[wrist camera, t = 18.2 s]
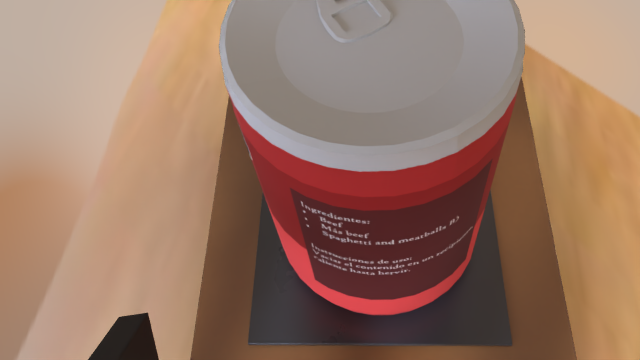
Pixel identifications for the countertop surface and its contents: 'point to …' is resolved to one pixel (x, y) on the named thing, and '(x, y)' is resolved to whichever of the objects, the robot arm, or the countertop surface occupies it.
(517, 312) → the wooden picture frame
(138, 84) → the countertop surface
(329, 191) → the canned food
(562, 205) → the countertop surface
